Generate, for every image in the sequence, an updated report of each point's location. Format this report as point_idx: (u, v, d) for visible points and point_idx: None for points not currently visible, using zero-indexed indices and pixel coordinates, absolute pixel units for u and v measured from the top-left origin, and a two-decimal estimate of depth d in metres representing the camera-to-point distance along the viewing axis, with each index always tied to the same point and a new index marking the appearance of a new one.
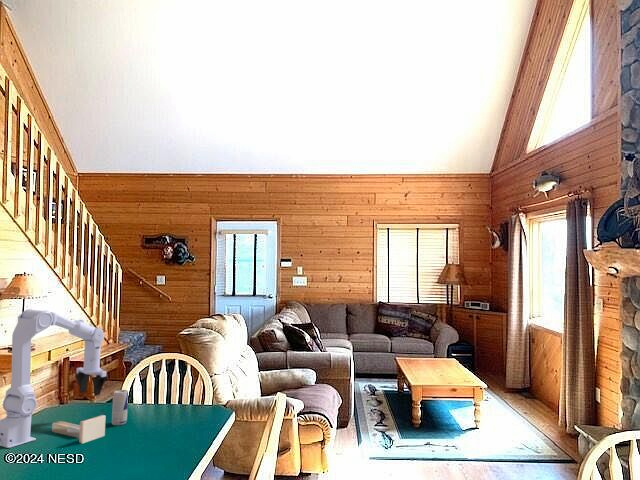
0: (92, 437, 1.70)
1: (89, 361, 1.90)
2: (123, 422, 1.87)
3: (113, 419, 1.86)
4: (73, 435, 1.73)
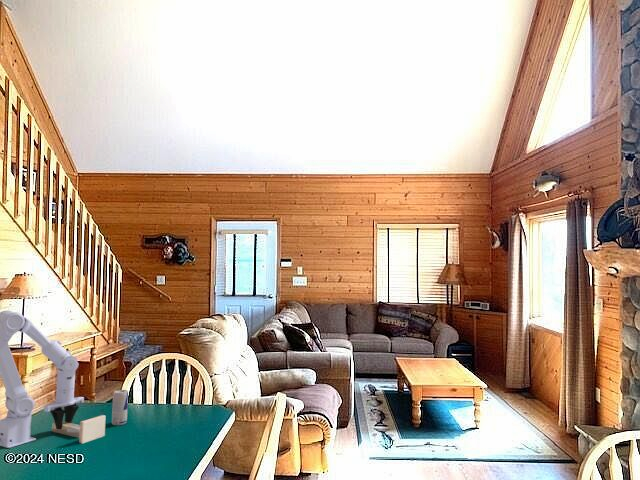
0: (92, 437, 1.70)
1: None
2: (123, 422, 1.87)
3: (113, 419, 1.86)
4: (73, 435, 1.73)
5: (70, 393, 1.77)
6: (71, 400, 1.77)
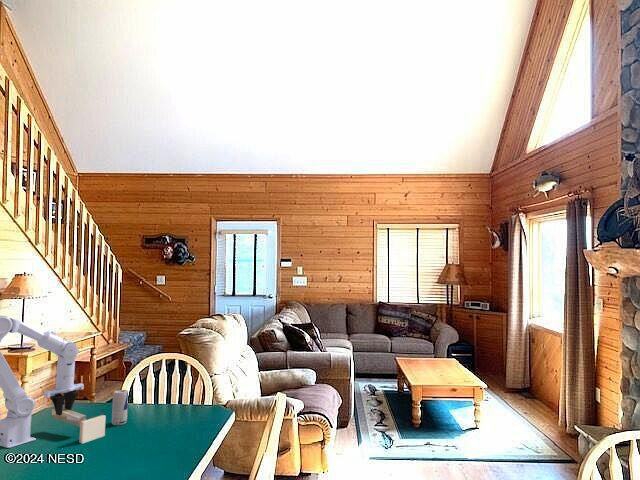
0: (92, 437, 1.70)
1: None
2: (123, 422, 1.87)
3: (113, 419, 1.86)
4: (72, 423, 1.73)
5: (70, 379, 1.77)
6: (71, 386, 1.78)
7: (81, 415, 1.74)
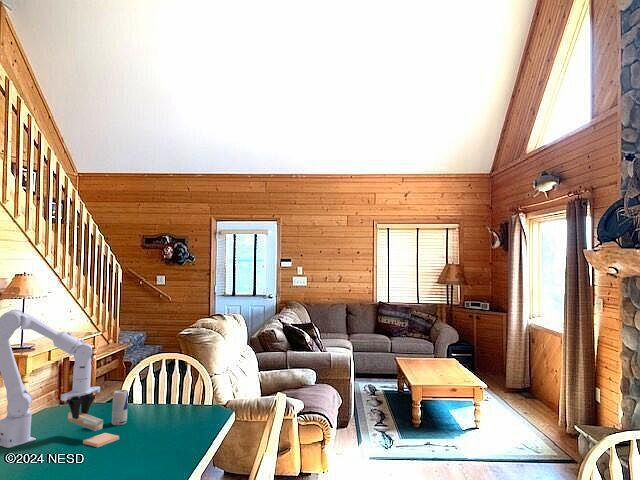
0: None
1: None
2: (123, 422, 1.87)
3: (113, 419, 1.86)
4: (89, 427, 1.69)
5: (87, 382, 1.73)
6: (88, 389, 1.74)
7: (98, 419, 1.71)
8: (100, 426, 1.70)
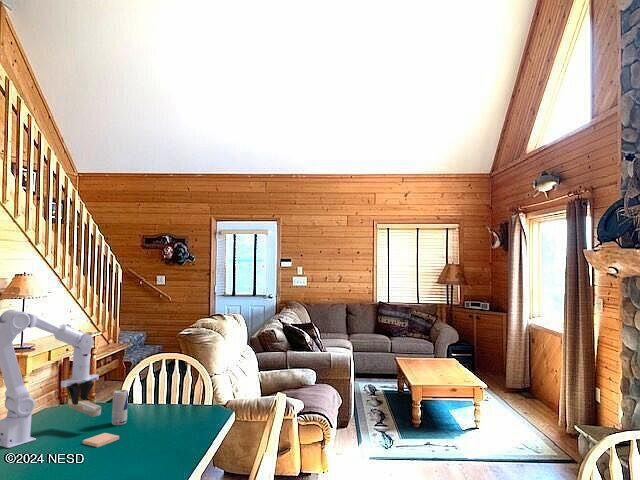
0: None
1: None
2: (123, 422, 1.87)
3: (113, 419, 1.86)
4: (88, 413, 1.78)
5: (86, 370, 1.82)
6: (87, 377, 1.83)
7: (96, 406, 1.79)
8: (98, 412, 1.79)
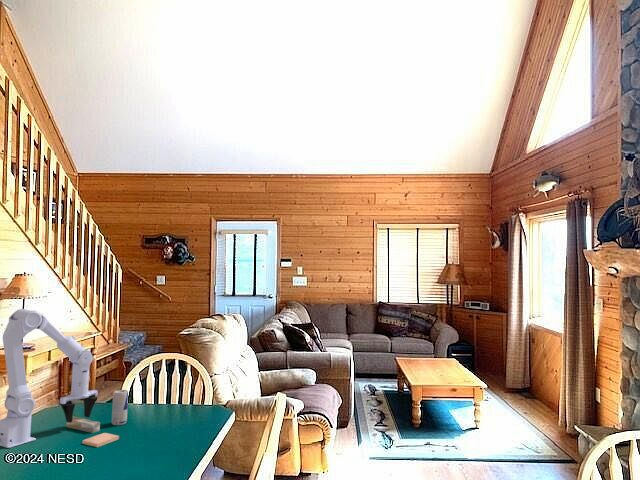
0: None
1: None
2: (123, 422, 1.87)
3: (113, 419, 1.86)
4: (87, 430, 1.78)
5: (85, 386, 1.82)
6: (86, 393, 1.83)
7: (95, 422, 1.79)
8: (97, 428, 1.79)
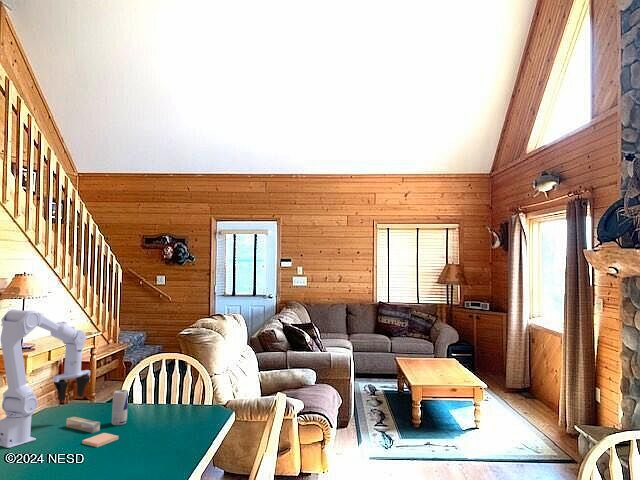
0: None
1: None
2: (123, 422, 1.87)
3: (113, 419, 1.86)
4: (87, 430, 1.78)
5: (77, 366, 1.87)
6: (78, 372, 1.88)
7: (95, 422, 1.79)
8: (97, 428, 1.79)
